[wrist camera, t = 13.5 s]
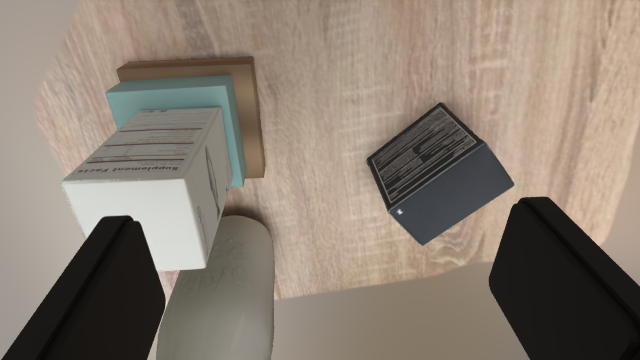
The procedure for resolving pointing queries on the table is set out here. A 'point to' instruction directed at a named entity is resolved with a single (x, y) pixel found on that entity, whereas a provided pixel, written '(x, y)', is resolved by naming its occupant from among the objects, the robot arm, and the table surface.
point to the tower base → (243, 92)
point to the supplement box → (159, 182)
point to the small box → (436, 174)
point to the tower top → (184, 95)
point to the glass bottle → (224, 299)
